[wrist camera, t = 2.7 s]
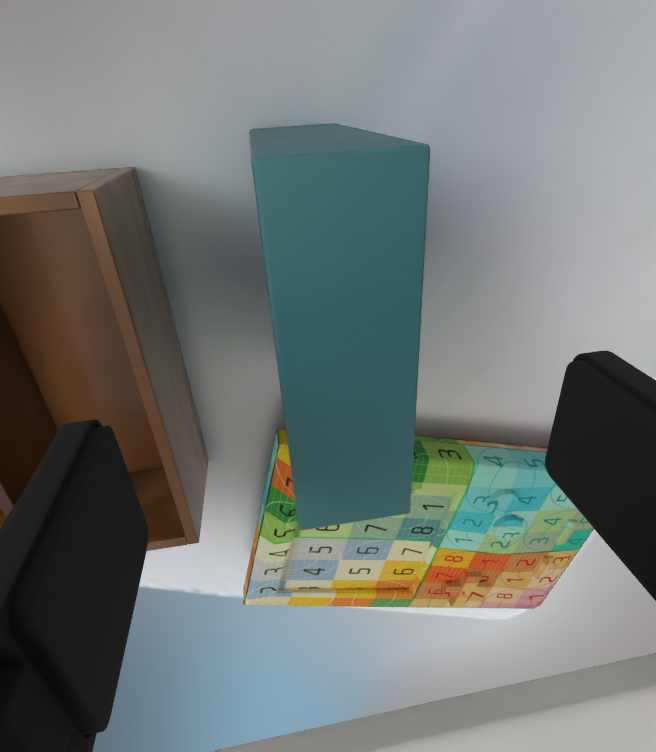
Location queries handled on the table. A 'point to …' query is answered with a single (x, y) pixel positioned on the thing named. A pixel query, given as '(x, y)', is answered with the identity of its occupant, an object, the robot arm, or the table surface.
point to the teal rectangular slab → (344, 310)
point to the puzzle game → (424, 536)
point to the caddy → (94, 342)
